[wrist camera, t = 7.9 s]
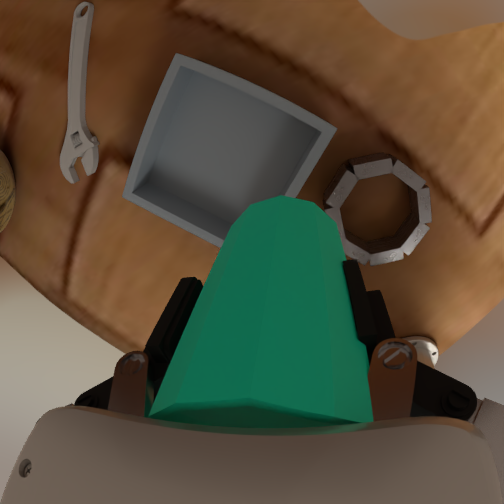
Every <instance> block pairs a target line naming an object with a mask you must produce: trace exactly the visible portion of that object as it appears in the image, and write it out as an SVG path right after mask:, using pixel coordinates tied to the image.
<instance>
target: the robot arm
mask: <svg viewBox="0 0 504 504" xmlns="http://www.w3.org/2000/svg"><path fill="white" fill-rule="evenodd" d="M343 270H344V274H345V278H346V283H347V287H348V292H349V297H350V301H351V306H352V311H353V316H354V321H355V327H356V331H357V333H358V339H359V341H360V342H362V343H363V344H364V345H366V350H367V355H368V361H369V367H370V368H369V372H368V376H367V377H368V384H369V391H370V398H371V405H372V413H373V421H374V422H366V423H357V424H347V425H335V426H323V427H306V428H238V427H221V426H208V425H197V424H188V423H179V422H172V421H164V420H158V419H152V418H149V417H148V416H149V413H150V411H151V408H152V406H153V403H154V401H155V398H156V396H157V393H158V391H159V389H160V386H161V384H162V381H163V379H164V377H165V374H166V372H167V369H168V367H169V365H170V362H171V360H172V358H173V355H174V353H175V350H176V348H177V346H178V343H179V341H180V339H181V336H182V334H183V332H184V330H185V327H186V325H187V323H188V320H189V318H190V316H191V313H192V311H193V309H194V307H195V304H196V302H197V300H198V298H199V295H200V293H201V291H202V289H203V285H202V282H201V281H200V280H197V278H196V277H187V278H182V279H181V280H180V282H179V284H178V286H177V287H176V289H175V291H174V293H173V295H172V296H171V298H170V300H169V302H168V304H167V306H166V307H165V309H164V311H163V313H162V315H161V317H160V319H159V320H158V322H157V324H156V326H155V328H154V330H153V332H152V334H151V336H150V338H149V339H148V341H147V343H146V345H145V346H146V347H145V349H144V351H143V352H142V351H132V352H129V353H127V354H125V355H124V356H123V357H122V358H120V359H119V361H118V362H117V364H116V367H115V371H114V376H113V377H111V378H110V379H108V380H106V381H104V382H102V383H100V384H99V385H97V386H95V387H93V388H91V389H89V390H88V391H86V392H84V393H83V394H81V395H80V396H79V397H78V398H77V400H76V401H75V404H74V405H73V404H70V405H67V406H65V407H58V408H55V409H52V410H49V411H48V412H46V413H45V414H44V415H43V416H42V417H41V418H40V419H39V420H38V421H37V423H36V425H35V427H34V429H33V430H32V432H31V434H30V435H29V437H28V439H27V441H26V443H25V445H24V447H23V449H22V451H21V453H20V455H19V457H18V459H17V461H16V463H15V466H14V468H13V470H12V473H11V475H10V478H9V480H8V482H7V485H6V488H5V490H4V493H3V496H2V499H1V502H0V504H504V405H501V404H499V403H497V402H494V401H492V400H489V399H486V398H484V400H480V399H478V398H477V397H476V394H475V392H474V391H473V390H472V389H471V388H470V387H469V386H467V385H466V384H464V383H462V382H460V381H457V380H456V379H454V378H452V377H449V376H447V375H445V374H443V373H441V372H439V371H437V370H435V368H434V365H435V364H436V362H437V360H438V349H437V346H436V344H435V343H434V342H433V341H432V340H431V339H429V338H426V337H421V336H413V337H406V338H402V339H400V338H395V334H394V331H393V328H392V324H391V321H390V318H389V315H388V312H387V309H386V305H385V302H384V299H383V296H382V293H381V291H380V290H375V291H368V292H366V288H365V285H364V281H363V278H362V275H361V271H360V268H359V265H358V261H357V259H354V260H345V261H343Z"/></svg>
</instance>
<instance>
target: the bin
mask: <svg viewBox="0 0 504 504" xmlns="http://www.w3.org/2000/svg"><path fill="white" fill-rule="evenodd" d="M336 130H337V128H336V127H334V126H333V125H331V124H330V123H328V122H327V121H325V120H323V119H321V118H320V117H318V116H316V115H314V114H313V113H311V112H309V111H307V110H305V109H304V108H302V107H300V106H298V105H296V104H294V103H293V102H291V101H289V100H287V99H285V98H283V97H281V96H279V95H277V94H275V93H273V92H271V91H269V90H267V89H265V88H263V87H261V86H258V85H256V84H254V83H252V82H250V81H248V80H245V79H243V78H241V77H239V76H236V75H234V74H232V73H229V72H227V71H224V70H222V69H220V68H217V67H215V66H212V65H209V64H207V63H204V62H202V61H199V60H196V59H193V58H190V57H187V56H184V55H181V54H178V53H176V54H175V56H174V58H173V60H172V62H171V64H170V67H169V69H168V71H167V73H166V75H165V78H164V80H163V82H162V84H161V87H160V89H159V92H158V94H157V96H156V99H155V101H154V104H153V106H152V109H151V111H150V114H149V116H148V119H147V122H146V124H145V127H144V130H143V132H142V135H141V138H140V141H139V144H138V147H137V150H136V153H135V156H134V159H133V162H132V165H131V168H130V171H129V175H128V178H127V181H126V185H125V188H124V192H123V195H122V197H123V198H125V199H127V200H129V201H131V202H133V203H134V204H136V205H138V206H140V207H142V208H144V209H146V210H148V211H150V212H152V213H154V214H156V215H157V216H159V217H161V218H163V219H165V220H167V221H169V222H171V223H173V224H175V225H177V226H179V227H181V228H183V229H184V230H186V231H188V232H190V233H192V234H194V235H196V236H198V237H200V238H202V239H204V240H206V241H208V242H210V243H212V244H214V245H216V246H218V247H220V248H221V247H222V245H223V242H224V240H225V238H226V236H227V234H228V232H229V230H230V227H231V226H232V225H233V224H234V222H235V221H236V220H237V219H238V218H239V217H240V216H241V215H242V213H243V212H244V211H245V210H246V209H247V208H248V207H249V206H250V205H251V204H254V203H257V202H260V201H264V200H267V199H270V198H273V197H277V196H280V195H283V196H287V197H292V198H296V196H297V195H298V193H299V191H300V190H301V188H302V186H303V185H304V183H305V181H306V180H307V178H308V177H309V175H310V173H311V172H312V170H313V168H314V167H315V165H316V163H317V162H318V160H319V158H320V157H321V155H322V154H323V152H324V150H325V149H326V147H327V145H328V144H329V142H330V140H331V139H332V137H333V135H334V134H335V132H336Z"/></svg>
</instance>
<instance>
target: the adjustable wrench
mask: <svg viewBox="0 0 504 504" xmlns="http://www.w3.org/2000/svg"><path fill="white" fill-rule="evenodd" d="M85 6H88V10H87V12H86V14H85V15H84V16H83V17H82V16H81V11H82V9H83V8H84V7H85ZM93 12H94V5H93V4H92V3H89V2H82V3H80V4H79V5H78V6H77V8H76V9H75V12H74V18H73V25H72V33H71V43H70V55H69V72H68V126H67V132H66V136H65V141H64V144H63V148H62V151H61V155H60V167H61V170H62V173H63V175H64V176H65V178H66V179H67V180H68V181H69V182H70V183H75V182H77V181H79V178H78V175H77V173H76V171H75V168H74V163H75V161H76V159H77V157H78V156H80V157H83V158H82V160H81V161H82V164H83V166H84V169H85V171H86V174H87V176H88V175H90V174H92V173H94V172H95V171H96V169H97V165H98V146H97V145H99V144H100V143H99V142H98V141H97V138H96V137H95V136H94V137H92V135H91V133H90V132H89V130H88V128H87V125H86V119H85V94H86V73H87V60H88V49H89V40H90V32H91V24H92V18H93ZM77 132H78V133H77ZM76 133H77V134H76Z"/></svg>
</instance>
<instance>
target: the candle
mask: <svg viewBox="0 0 504 504" xmlns="http://www.w3.org/2000/svg"><path fill="white" fill-rule="evenodd" d="M345 260H346V257H345V253H344V249H343V245H342V242H341V238H340V234H339V231H338V227H337V224H336V222H335V221H334V220H333V219H331V218H330V217H329V216H328V215H327V214H326V213H325V212H324V211H323V210H322V209H321V208H319V207H318V206H317V205H316V204H315V203H314V202H311V201H306V200H302V199H297V198H292V197H287V196H283V195H280V196H277V197H273V198H270V199H267V200H264V201H260V202H257V203H254V204H251V205H250V206H249V207H248V208H247V209H246V210H245V211H244V212H243V213H242V215H241V216H240V217H239V218H238V219H237V220H236V221H235V222H234V224H233V225H232V226H231V227H230V230H229V232H228V234H227V236H226V238H225V240H224V242H223V245H222V247H221V249H220V251H219V253H218V256H217V258H216V260H215V262H214V264H213V266H212V269H211V271H210V273H209V275H208V278H207V280H206V282H205V284H204V286H203V289H202V291H201V293H200V295H199V298H198V300H197V302H196V304H195V307H194V309H193V311H192V313H191V316H190V318H189V320H188V323H187V325H186V327H185V330H184V332H183V334H182V336H181V339H180V341H179V343H178V346H177V348H176V350H175V353H174V355H173V358H172V360H171V362H170V365H169V367H168V369H167V372H166V374H165V377H164V379H163V381H162V384H161V386H160V389H159V391H158V393H157V396H156V398H155V401H154V403H153V406H152V408H151V411H150V413H149V416H148V417H149V418H152V419H158V420H164V421H172V422H179V423H188V424H197V425H208V426H221V427H238V428H306V427H323V426H335V425H347V424H357V423H366V422H374V421H373V413H372V405H371V398H370V391H369V384H368V377H367V376H368V372H369V368H370V367H369V361H368V355H367V350H366V345H364V344H363V343H362V342H360V341H359V339H358V333H357V331H356V327H355V321H354V316H353V311H352V306H351V301H350V297H349V292H348V287H347V283H346V278H345V274H344V270H343V261H345Z"/></svg>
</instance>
